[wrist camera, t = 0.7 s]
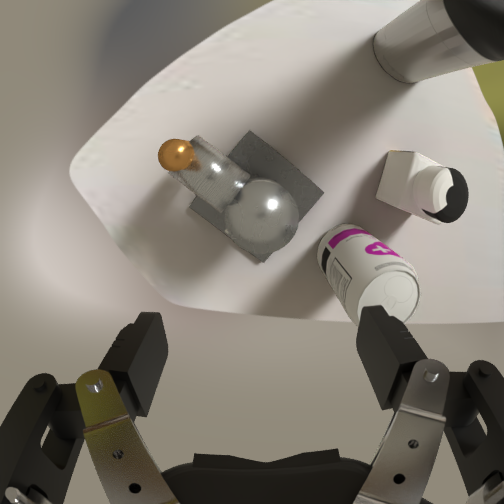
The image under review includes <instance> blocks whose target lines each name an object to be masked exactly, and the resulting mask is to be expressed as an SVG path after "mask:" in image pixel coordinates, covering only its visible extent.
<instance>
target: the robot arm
mask: <svg viewBox="0 0 504 504" xmlns="http://www.w3.org/2000/svg"><path fill="white" fill-rule="evenodd" d="M373 44H374V52H375V55H376V58H377V60H378V62H379V63H380V65H381V66H382V67H383V69H384V70H385V71H386V72H387V73H388V74H389V75H391V76H392V77H394V78H395V79H397V80H399V81H402V82H405V83H415V82H418V81H422V80H425V79H429V78H432V77H436V76H439V75H443V74H447V73H450V72H454V71H458V70H462V69H466V68H470V67H474V66H478V65H482V64H487V63H491V62H496V61H501V60H504V0H420V1H419V2H417V3H416V4H415V5H413V6H412V7H410V8H409V9H408V10H406V11H405V12H403V13H402V14H401V15H399V16H398V17H397V18H395V19H394V20H393V21H391V22H390V23H389V24H387V25H386V26H385V27H383V28H382V29H381V30H380V31H379V32H378V33H377V34H376V36H375V38H374V42H373ZM356 346H357V351H358V354H359V356H360V358H361V361H362V363H363V365H364V368H365V370H366V373H367V375H368V377H369V380H370V382H371V384H372V387H373V389H374V392H375V394H376V397H377V399H378V402H379V404H380V407H381V409H382V410H386V409H391V408H393V410H394V415H393V416H392V419H391V421H390V423H389V425H388V428H387V430H386V432H385V434H384V436H383V439H382V441H381V443H380V445H379V447H378V449H377V451H376V453H375V455H374V457H373V458H372V460H371V462H370V464H367V463H364V462H361V461H358V460H354V459H350V458H342V457H340V456H339V451H338V449H331V450H323V451H315V452H306V453H301V454H298V455H294V456H291V457H287V458H284V459H280V460H276V461H272V462H266V463H265V462H259V461H254V460H249V459H244V458H239V457H235V456H230V455H210V454H196V453H195V454H194V459H193V462H192V463H187V464H182V465H178V466H175V467H173V468H170V469H168V470H166V471H164V472H162V471H161V470H160V468H159V467H158V465H157V464H156V462H155V460H154V459H153V457H152V455H151V453H150V452H149V450H148V448H147V446H146V445H145V443H144V441H143V439H142V437H141V435H140V433H139V431H138V429H137V428H136V426H135V424H134V421H135V418H136V416H142V417H147V415H148V412H149V409H150V406H151V403H152V400H153V397H154V394H155V391H156V388H157V385H158V382H159V379H160V377H161V374H162V371H163V368H164V365H165V363H166V359H167V356H168V343H167V339H166V334H165V330H164V326H163V322H162V317H161V314H160V313H158V312H141V313H140V314H139V316H138V318H137V319H136V321H135V323H134V324H131V323H130V324H128V325H127V326H126V327H124V328H123V329H122V330H121V331H120V332H119V334H118V336H117V337H116V340H115V341H114V342H113V344H112V347H110V349H109V351H108V353H107V354H106V356H105V357H104V359H103V361H102V362H101V364H100V366H99V367H98V369H96V370H90V371H88V372H85V373H84V374H82V375H81V376H80V377H79V378H78V379H77V381H76V383H73V384H58V383H57V381H56V380H55V378H54V376H52V375H50V374H47V373H42V374H38V375H36V376H34V377H32V378H31V379H30V380H29V381H28V382H27V383H26V385H25V386H24V388H23V390H22V391H21V393H20V394H19V396H18V398H17V399H16V401H15V402H14V404H13V406H12V407H11V409H10V411H9V412H8V414H7V416H6V418H5V419H4V421H3V423H2V425H1V426H0V504H63V502H64V499H65V496H66V492H67V489H68V486H69V483H70V480H71V476H72V474H73V471H74V468H75V464H76V462H77V458H78V456H79V453H80V450H81V448H82V445H83V442H84V439H85V440H86V443H87V446H88V449H89V452H90V455H91V458H92V461H93V463H94V466H95V469H96V471H97V474H98V476H99V479H100V481H101V483H102V486H103V488H104V490H105V493H106V495H107V497H108V499H109V502H110V504H433V503H431V502H429V501H427V500H426V499H424V498H422V496H423V493H424V491H425V488H426V485H427V483H428V480H429V477H430V474H431V471H432V468H433V465H434V462H435V459H436V456H437V452H438V449H439V446H440V442H441V438H442V434H443V431H444V432H445V434H446V437H447V439H448V442H449V444H450V446H451V449H452V452H453V454H454V457H455V459H456V462H457V465H458V467H459V470H460V472H461V475H462V478H463V481H464V484H465V487H466V490H467V493H468V496H469V498H468V500H467V502H466V504H504V378H503V376H502V375H501V373H500V372H499V371H498V369H497V368H496V367H495V366H494V365H493V364H491V363H489V362H487V361H484V360H477V361H474V362H473V363H471V364H470V366H469V368H468V370H467V372H449V370H448V368H447V367H446V366H445V365H444V364H443V363H441V362H440V361H437V360H434V359H428V358H427V356H426V355H425V353H424V352H423V351H422V349H421V348H420V346H419V345H418V343H417V342H416V340H415V339H414V338H413V336H412V335H411V333H410V332H408V329H407V328H406V326H405V325H404V323H403V322H402V321H400V320H399V319H397V318H396V317H395V316H389V315H388V313H387V312H386V310H385V309H384V307H383V306H382V305H374V306H364V307H363V308H362V311H361V316H360V322H359V327H358V333H357V338H356ZM478 413H480V414H481V416H482V418H483V420H484V422H485V424H486V426H487V436H486V434H485V432H484V430H483V428H482V426H481V424H480V422H479V420H478V419H477V415H478ZM47 426H49V428H50V430H49V432H48V434H47V437H46V439H45V441H44V443H43V446H42V448H41V445H40V442H41V438H42V436H43V434H44V432H45V430H46V428H47Z"/></svg>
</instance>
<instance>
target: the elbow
mask: <svg viewBox="0 0 504 504" xmlns="http://www.w3.org/2000/svg"><path fill="white" fill-rule="evenodd" d="M158 160H159V163H160V164H161V166H162V167H163V168H164V169H166V170H168V171H169V174H170V175H171V176H173V177H174V178H175V179H177V180H178V181H179V182H181V183H182V184H183V185H184V186H186V187H187V188H188V189H190V190H191V191H192V192H194V193H195V194H196V195H198V196H199V197H200V198H202V199H203V200H204V201H206V202H207V203H208V204H210V205H211V206H212V207H213V208H215V209H216V210H217V211H219V212H220V213H221V212H223V211H224V209H225V208H226V207H227V208H226V212H225V224H226V229H227V231H228V234H229V236H230V237H231V239H232V240H233V241H234V242H235V243H236V244H237V245H238V246H239V247H241V248H242V249H244V250H246V251H249V252H251V253H256V254H267V253H271V252H275V251H277V250H279V249H281V248H283V247H284V246H285V245H287V244H288V243H289V242H290V240H291V239H292V238H293V236H294V235H295V233H296V230H297V227H298V223H299V212H298V208H297V205H296V202H295V200H294V199H293V197H292V196H291V195H290V193H289V192H288V191H286V190H285V189H284V188H283V187H282V186H281V185H280V184H278V183H277V182H275V181H273V180H271V179H267V178H253V179H249V178H250V176H251V175H250V174H249V173H247V172H246V171H245V170H243V169H242V168H241V167H240V166H238V165H237V164H236V163H234V162H233V161H232V160H231V159H229V158H228V157H227V156H225V155H224V154H223V153H221V152H220V151H219V150H217V149H216V148H215V147H213V146H212V145H211V144H209V143H208V142H207V141H205V140H204V139H203V138H201V137H200V136H199V135H198V136H196V137H194V138H193V139H192V140H191V141H185V140H179V139H170V140H168V141H166V142H165V143H163V144H162V146H161V147H160V149H159V152H158ZM248 179H249V180H248Z"/></svg>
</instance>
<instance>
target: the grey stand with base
mask: <svg viewBox="0 0 504 504" xmlns="http://www.w3.org/2000/svg"><path fill="white" fill-rule="evenodd" d="M228 158H229V159H231V160H232V161H233V162H234V163H236V164H237V165H238V166H240V167H241V168H242V169H243V170H245V171H246V172H247V173H249V174H250V175H251V176H250V178H249V179H253V178H267V179H271V180H273V181H275V182H277V183H278V184H280V185H281V186H282V187H283V188H284V189H285V190H286V191H288V192H289V193H290V195H291V196H292V197H293V199H294V200H295V202H296V205H297V208H298V212H299V222H300V221H301V219H302V218H303V217H304V216H305V215H306V214H307V212H308V211H309V210H310V209H311V208H312V207H313V205H314V204H315V203H316V202H317V201H318V200H319V198H320V197H321V196H322V195H323V194H324V192H323V191H322V190H321V189H320V188H319V187H317V186H316V185H315V184H314V183H313V182H312V181H311V180H310V179H308V178H307V177H306V176H305V175H304V174H303V173H301V172H300V171H299V170H298V169H297V168H296V167H294V166H293V165H292V164H291V163H290V162H289V161H287V160H286V159H285V158H284V157H283V156H281V155H280V154H279V153H278V152H276V151H275V150H274V149H273V148H272V147H270V146H269V145H268V144H267V143H265V142H264V141H263V140H262V139H260V138H259V137H258V136H256V135H255V134H254V133H253V132H251V131H250V130H249V132H248V133H247V134H246V135H245V136H244V138H243V139H242V140H241V141H240V142H239V144H238V145H237V146H236V147H235V148H234V150H233V151H232V152H231V153H230V155H229V156H228ZM249 179H248V180H249ZM189 207H190V208H191V209H193V210H194V211H195V212H197V213H198V214H199V215H201V216H202V217H203V218H204V219H206V220H207V221H208V222H210V223H211V224H212V225H214V226H215V227H216V228H218V229H219V230H220V231H222V232H223V233H224V234H226V235H227V236H228V237H230V236H229V234H228V231H227V229H226V224H225V212H226V208H227V207H226V208H225V209H224V211H223V212H221V213H220V212H219V211H217V210H216V209H215V208H213V207H212V206H211V205H210V204H208V203H207V202H206V201H204V200H203V199H202V198H200V197H199V196H197V197H196V198H195V199H194V201H193V202H192V204H191V205H190V206H189ZM230 238H231V237H230ZM248 252H249V251H248ZM250 253H251V252H250ZM272 253H273V252H271V253H267V254H256V253H251V254H252V255H253V256H255V257H256V258H257V259H259V260H260V261H261V262H263V263H264V262H265V261H266V260H267V259H268V257H269V256H270V255H271V254H272Z"/></svg>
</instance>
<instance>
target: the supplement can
mask: <svg viewBox="0 0 504 504" xmlns="http://www.w3.org/2000/svg"><path fill="white" fill-rule="evenodd" d="M317 260H318V263H319V267H320V269H321V271H322V272H323V274H324V276H325V277H326V279H327V281H328V282H329V284H330V286H331V287H332V289H333V291H334V292H335V294H336V296H337V297H338V299H339V301H340V302H341V304H342V306H343V308H344V309H345V311H346V313H347V314H348V316H349V318H350V319H351V320H352V321H353V323H354V324H355V325H356V326H358V327H359V322H360V316H361V311H362V308H363V307H364V306H374V305H382V306H383V307H384V309H385V310H386V312H387V313H388V315H389V316H395V317H396V318H397V319H399V320H400V321H402V322H403V323H404V324H405V323H406V322H407V321H408V320H409V319H410V318H411V317H412V316H413V314H414V312H415V311H416V309H417V307H418V304H419V300H420V296H421V292H420V284H419V282H418V276H417V274H416V272H415V270H414V268H413V266H412V265H411V264H410V263H408V262H407V261H406V260H404V259H403V258H402V257H401V256H399V255H398V254H397V253H395V252H394V251H393V250H391V249H390V248H389V247H387V246H386V245H385V244H383V243H382V242H381V241H379V240H378V239H377V238H375V237H374V236H372V235H371V234H370V233H368V232H367V231H366V230H364V229H363V228H361V227H360V226H358V225H353V224H343V225H338V226H336V227H335V228H333V229H331V230H329V231H328V232H327V234H326V235H325V236H324V237H323V238H322V240H321V242H320V244H319V247H318V252H317Z"/></svg>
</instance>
